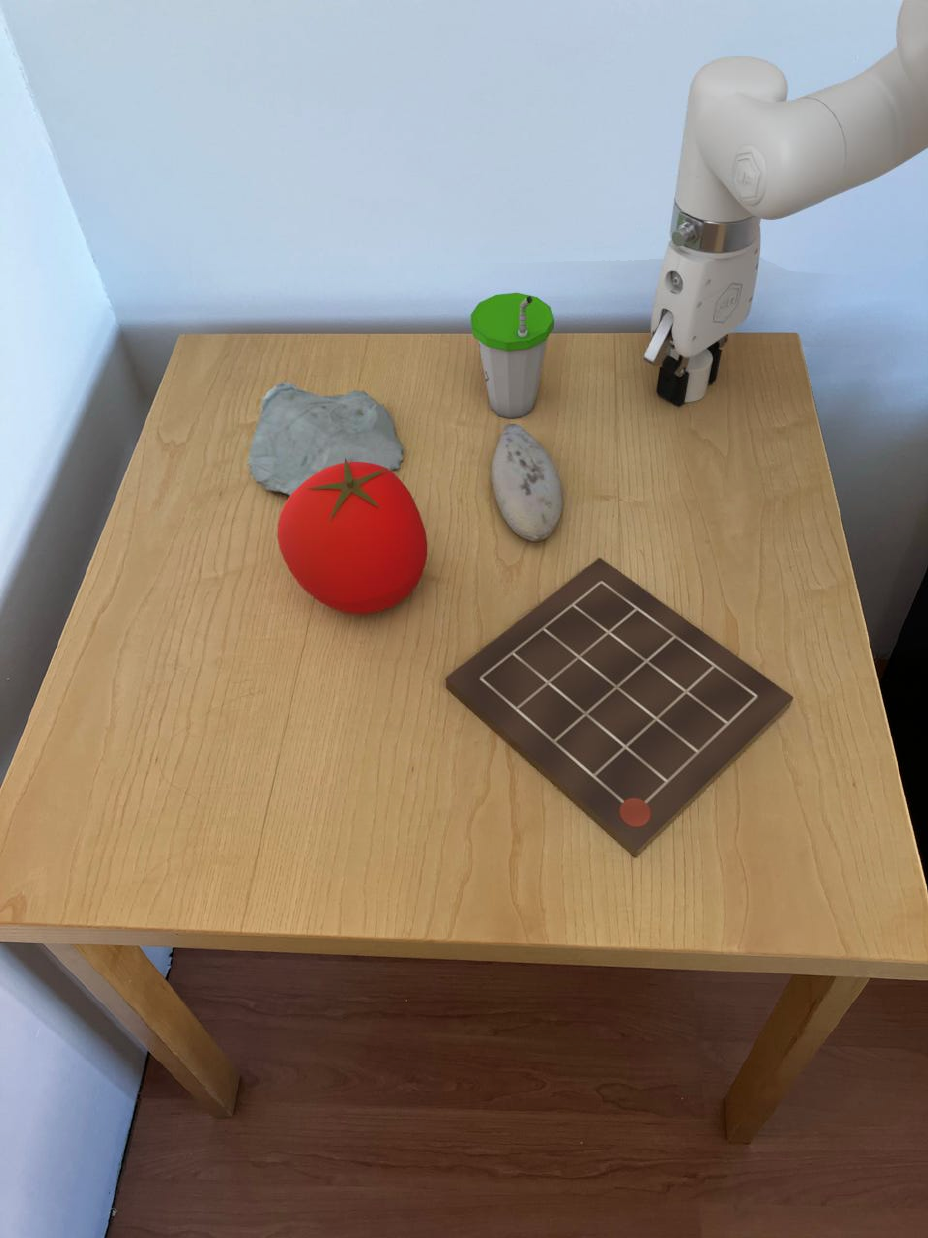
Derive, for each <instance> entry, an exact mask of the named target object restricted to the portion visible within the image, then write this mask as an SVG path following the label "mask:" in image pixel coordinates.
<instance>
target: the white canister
mask: <svg viewBox="0 0 928 1238" xmlns="http://www.w3.org/2000/svg"><path fill="white" fill-rule="evenodd" d="M670 356H671V357H673V358H675V359H676V360H677V361H678V358H679V354H678V353H677V352H676V350H675V348H672V349H671V353H670ZM712 362H713V356H712V354H711V352H710V351H709V350H708V349H705V350H703V351H702V352H700V353H699V354H697V355H695V356H692V357H690V359H689V362H688V366H687V369H686V371H687V372H688V373H690V374H689V380H688V385H687V391H686V397H685V402H684V403H693V402H697V401H699V400H701V399H703V398H704V397H705V396H706V394H707V392H708V386H709V383H708V382H709V377H710V372H711V367H712Z"/></svg>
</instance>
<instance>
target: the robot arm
mask: <svg viewBox="0 0 928 1238" xmlns="http://www.w3.org/2000/svg"><path fill="white" fill-rule="evenodd" d="M895 31H896V32H895V38H896V46H895V47H894V48H892V50H890V52H888V53H886V54H885V55H884V56H883V57H881V58H880V59H879V60H877V61H876V62H875V63H873V64H872V65H870V67H868V68H867V69H865V70H864V71H862V72H860V73H859V74H857V75H855V76H854V77H852V78H849V79H847V80H844V81H842V82H838V83H836V84H833V85H830V86H827V87H824V88H822V89H820V90H819V89H818V90H817V91H814V92H812V93H809V94H806V95H803V96H801V97H798V98H795V99H789V100H787V99H788V92H789V87H788V81H787V77H786V76H785V74H784V72H783V71H782V70H781V68H779V67H778V66H777V65H775V64H774V63H773V62H771V61H768V60H765V59H763V58H760V57H754V56H747V55H732V56H725V57H719V58H715V59H714V60H711V61H708V62H707V63H706V64H703V66H702V67H700V68H699V69H698V70H697V72H696V73H695V75H694V77H693V78H692V81H691V83H690V86H689V92H688V96H687V105H686V111H685V120H684V127H683V135H682V141H681V149H680V155H679V163H678V169H677V176H676V177H677V178H676V185H675V192H674V198H673V204H672V205H673V206H672V213H671V221H670V227H669V237H670V240H669V241H668V244H667V247H666V250H665V253H664V256H663V259H662V260H663V261H662V264H661V267H660V271H659V275H658V280H657V283H656V288H655V293H654V299H653V303H652V312H651V318H650V336H651V341H650V342H649V344H648V346H647V348H646V351H645V352H644V354H643V361H644V362H646V363H648V364H650V365H651V366H653V367H657V368H659V369H658V378H657V384H656V391H655V392H656V394H657V395H658V396H659V397H661V398H662V399H664V400H665V401H668V402H670V403H671V404H673V405H674V406H676V407H679V408H680V407H682V406H683V405H684V404H685V403H686V402H685V397H686V391H687V385H688V380H689V374H690V373H688V372H687V371H686V369H687V366H688V362H689V359H690V357H692V356H695V355H697V354H699V353H700V352H702V351H703V350H705V349H708V350H709V351H710V352H711V354H712V356H713V362H712V367H711V372H710V377H709V382H708V384H711V385H712V384H713V383H715V382H716V381H717V379H718V374H719V373H718V372H719V369H720V368H719V367H720V362H721V359H722V358H721V357H722V354H723V353H722V352H723V349H722V348H724V347H725V346H726V344H727V342H728V340H729V339H728V338H729V333H730V332H732V331H734V330H735V329H736V328H738V327H739V326H740V325H742V324H743V323H744V322H745V320H746V319H748V317H749V315H750V312H751V310H752V304H753V300H754V295H755V290H756V284H757V277H758V270H759V263H760V255H761V236H762V235H761V221H762V220H767V221H775V220H781V219H784V218H787V217H789V216H792V215H794V214H797V213H799V212H802V211H804V210H806V209H808V208H811V207H813V206H815V205H818V204H821V203H822V202H824V201H826V200H828V199H830V198H833V197H835V196H838V195H840V194H843V193H845V192H847V191H849V190H852V189H854V188H858V187H860V186H862V185H864V184H865V185H866V183H869V182H872V181H874V180H876V179H878V178H881V177H882V176H884V175H886V174H887V173H890V172H891V171H893V170H895V169H897V168H898V167H900V166H901V165H903V164H904V163H906V162H908V161H910V160H911V159H913V158H914V157H916V156H917V155H919V154H920V153H922V152H924V151H925V150H926V149H928V0H903V1H902V2H901V5H900V8H899V10H898V15H897V19H896V29H895ZM674 348H675V350H676V352H677V353H678V354H679V358H678V361H677V360H676V359H675V358H673V357H671V356H670V353H671V351H672V350H673V349H674Z"/></svg>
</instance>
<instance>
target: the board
mask: <svg viewBox="0 0 928 1238" xmlns="http://www.w3.org/2000/svg"><path fill="white" fill-rule="evenodd" d="M445 688H446V690H448V692H450V693H451V694H452V695H453V696H454V697H455V698H457V699H458V701H460V702H461V703H462V704H463V705H464V706H465V707H466V708H468V710H470V711H471V712H472V713H473V714H474V715H475V716H477V717H478V718H479V719H480V720H481V721H482V722H483V723H484V724H485V725H486V726H487V727H489V728H490V729H491V730H492V731H493V732H494V733H496V735H497V736H498V737H500V738H501V739H502V740H503V741H504V742H505V743H507V744H508V745H509V746H510V747H511V748H512V749H513V750H515V751H516V752H517V754H519V755H520V756H521V757H522V758H523V759H524V760H526V762H527V763H529V764H530V765H531V766H532V767H533V768H534V769H535V770H536V771H538V773H540V774H541V775H542V776H543V777H544V778H546V780H548V781H549V782H550V783H551V784H552V785H553V786H554V787H555V788H557V789H558V790H559V791H560V792H561V793H562V794H563V795H565V796H566V797H567V798H568V799H569V800H570V801H571V802H572V803H573V804H575V805H576V806H577V807H578V808H579V809H580V810H581V811H582V812H583V813H585V815H587V816H588V817H589V818H590V819H591V820H592V821H593V822H595V823H596V824H597V825H598V826H599V827H600V828H601V829H603V830H604V831H605V832H606V833H607V834H608V835H609V836H610V837H611V838H612V839H613V840H615V842H617V843H618V844H619V845H620V846H622V847H623V848H624V849H625V851H627V852H628V853H629V854H630V855H632V856H633V857H634V859H636V858H638V857H639V856H640V855H641V854H642V853H643V852H644V851H645V850H646V849H647V848H648V847H649V846H650V845H651V844H653V842H654V841H655V840H657V838H658V837H659V836H660V835H661V834H662V833H663V832H664V831H666V829H668V828H669V827H670V826H671V825H672V824H673V823H674V822H675V821H676V820H677V819H678V818H679V816H681V815H682V814H683V813H684V812H685V811H686V810H687V809H688V808H689V807H690V806H691V805H692V804H693V803H694V802H695V801H696V800H697V799H698V798H699V797H700V796H701V795H702V794H703V793H704V792H705V791H706V790H707V789H708V788H710V786H711V785H712V784H713V783H714V782H715V781H716V780H717V779H718V778H720V777H721V775H722V774H723V773H724V772H725V771H727V769H729V767H731V765H733V763H735V762H736V761H737V760H738V758H740V757H741V756H742V755H743V754H744V753H745V752H746V751H747V750H748V749H749V748H750V747H751V746H752V745H753V744H754V743H755V742H756V741H757V740H758V739H759V738H760V737H761V736H762V735H763V734H764V733H765V732H766V731H767V730H768V729H769V728H770V727H772V725H773V724H774V723H775V722H777V720H779V718H780V717H782V716H783V715H784V713H786V712H787V711H788V710H789V708H790V707H791V705H792V702H793V700H794V696H793V695H791V694H790V693H789V692H787V691H786V690H784V689H783V688H782V687H781V686H779V685H778V684H776V682H775V683H774V682H773V681H772V680H770V679H769V678H768V677H767V676H765V675H764V674H762V673H761V672H760V671H758V670H756V668H754V667H752V666H751V665H750V664H749V663H747V662H746V661H744V660H743V659H742V658H740V657H739V656H737V655H736V654H735V653H733V652H732V651H730V650H729V649H728V648H727V647H726V646H723V645H722V644H721V643H719V642H718V641H716V640H715V639H714V638H712V637H711V636H710V635H709V634H707V633H705V632H704V631H703V630H701V629H700V628H698V626H695V624H693V623H692V622H690V621H689V620H687V619H686V618H685V617H683V616H682V615H681V614H679V613H678V612H677V611H675V610H673V609H672V608H671V607H669V606H668V605H666V604H665V603H664V602H662V601H661V600H660V599H658V598H657V597H656V596H654V595H653V594H651V593H650V592H648V591H647V590H646V589H645V588H643V587H642V586H640V585H639V584H637V583H636V582H635V581H633V580H632V579H630V578H629V577H628V576H627V575H625V574H624V573H623V572H620V571H619V570H618V569H617V568H615V567H614V566H613V565H611V564H610V563H608V562H607V561H605V560H604V559H603V558H602V557H598V558H597V559H595V560H594V561H593V562H592V563H591V564H589V565H588V566H587V567H585V568H584V569H583V570H582V571H580V572H579V573H578V574H577V575H575V576H574V577H573V578H572V579H570V580H569V581H568V582H566V583H565V584H564V585H562V586H561V587H560V588H559V589H557V590H556V591H554V592H553V593H552V594H550V596H548V597H547V598H546V599H544V600H543V601H542V602H540V604H538V605H537V606H536V607H534V608H533V609H532V610H530V612H528V613H527V614H525V615H524V616H523V617H522V618H520V619H519V620H518V621H517V622H515V623H514V624H512V626H509V628H507V629H506V630H505V631H504V632H502V633H501V634H499V636H497V637H496V638H494V640H492V641H491V642H490V643H488V644H487V645H486V646H485V647H483V648H482V649H481V650H479V651H478V652H477V653H475V654H474V655H473V656H472V657H470V658H468V660H467V661H465V662H464V663H462V665H460V666H459V667H458V668H456V669H455V670H453V672H451V673H450V674H449V675H448V676H446V677H445Z"/></svg>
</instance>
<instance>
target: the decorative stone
mask: <svg viewBox="0 0 928 1238" xmlns="http://www.w3.org/2000/svg"><path fill="white" fill-rule="evenodd" d="M493 454H494V455H493V458H492V463H491V482H492V489H493V493H494V497H495V501H496V504H497V506H498V508H499V511H500V514H501V516H502V517H503V519H504V520H505V522H506V523H507V525H508V526H509V527H510V528H511V530H512V531H513V532H514V533H516V534H517V535H518V536H519V537H521V538H522V539H525V540H528V541H531V542H540V541H543V540H545V539H546V538H548V537H549V536H550V535H551V534H552V533H553V532H554V531H555V529H556V527H557V526H558V523H559V521H560V518H561V516H562V510H563V501H564V500H563V491H562V489H563V488H562V483H561V477H560V475H559V471H558V468H557V466H556V464H555V463H554V461H553V459H552V457H551V455H550V454H549V453H548V451H547V450H546V449H545V447H544V446H543V445H542V444H541V443H539V442H538V440H536V439H535V437H533V436H532V435H531V434H530V433H529V432H527V431H526V430H525V429H524V428H523V427H522V426H520V425H519V424H518V423H508V424H506V425H505V426H504V427H503V429H502V430H501V433H500V437H499V439H498V441H497V445H496V448H495V451H494V453H493Z"/></svg>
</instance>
